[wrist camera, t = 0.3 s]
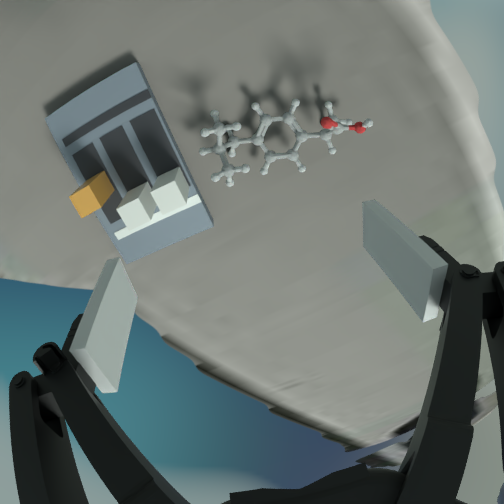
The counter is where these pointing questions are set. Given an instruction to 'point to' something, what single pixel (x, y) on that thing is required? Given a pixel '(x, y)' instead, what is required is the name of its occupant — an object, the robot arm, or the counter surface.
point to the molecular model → (219, 129)
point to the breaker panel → (131, 164)
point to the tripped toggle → (92, 194)
